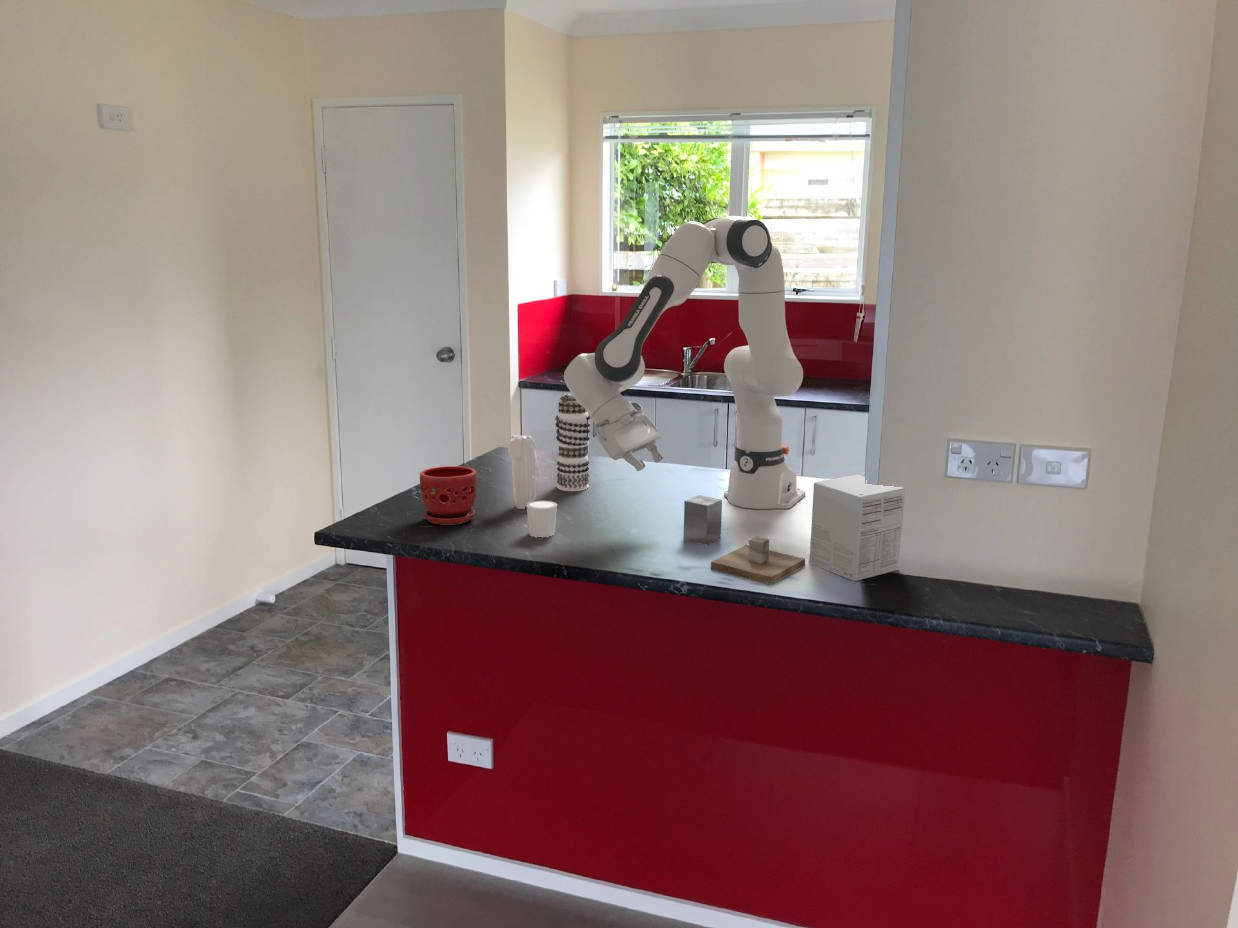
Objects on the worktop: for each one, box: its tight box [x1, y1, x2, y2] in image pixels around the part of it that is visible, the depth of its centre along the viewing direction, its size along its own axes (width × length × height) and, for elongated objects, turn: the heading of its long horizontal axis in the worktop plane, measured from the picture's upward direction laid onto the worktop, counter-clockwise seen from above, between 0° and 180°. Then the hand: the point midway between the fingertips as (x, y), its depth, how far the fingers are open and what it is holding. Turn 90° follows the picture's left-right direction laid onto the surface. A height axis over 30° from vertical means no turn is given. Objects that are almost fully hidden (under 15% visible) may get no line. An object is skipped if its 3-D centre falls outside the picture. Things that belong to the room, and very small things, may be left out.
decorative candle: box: [554, 392, 591, 492], centre depth 256 cm, size 9×9×25 cm
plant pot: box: [419, 465, 478, 526], centre depth 228 cm, size 13×13×12 cm
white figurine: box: [507, 434, 540, 510], centre depth 238 cm, size 7×18×7 cm
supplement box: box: [808, 474, 906, 582], centre depth 198 cm, size 13×13×18 cm
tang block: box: [710, 535, 806, 585], centre depth 199 cm, size 14×14×6 cm
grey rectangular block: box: [682, 494, 723, 546], centre depth 216 cm, size 6×6×9 cm
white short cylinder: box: [526, 500, 558, 539], centre depth 219 cm, size 7×7×7 cm
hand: (651, 464), depth 219 cm, fingers open, 8 cm apart
